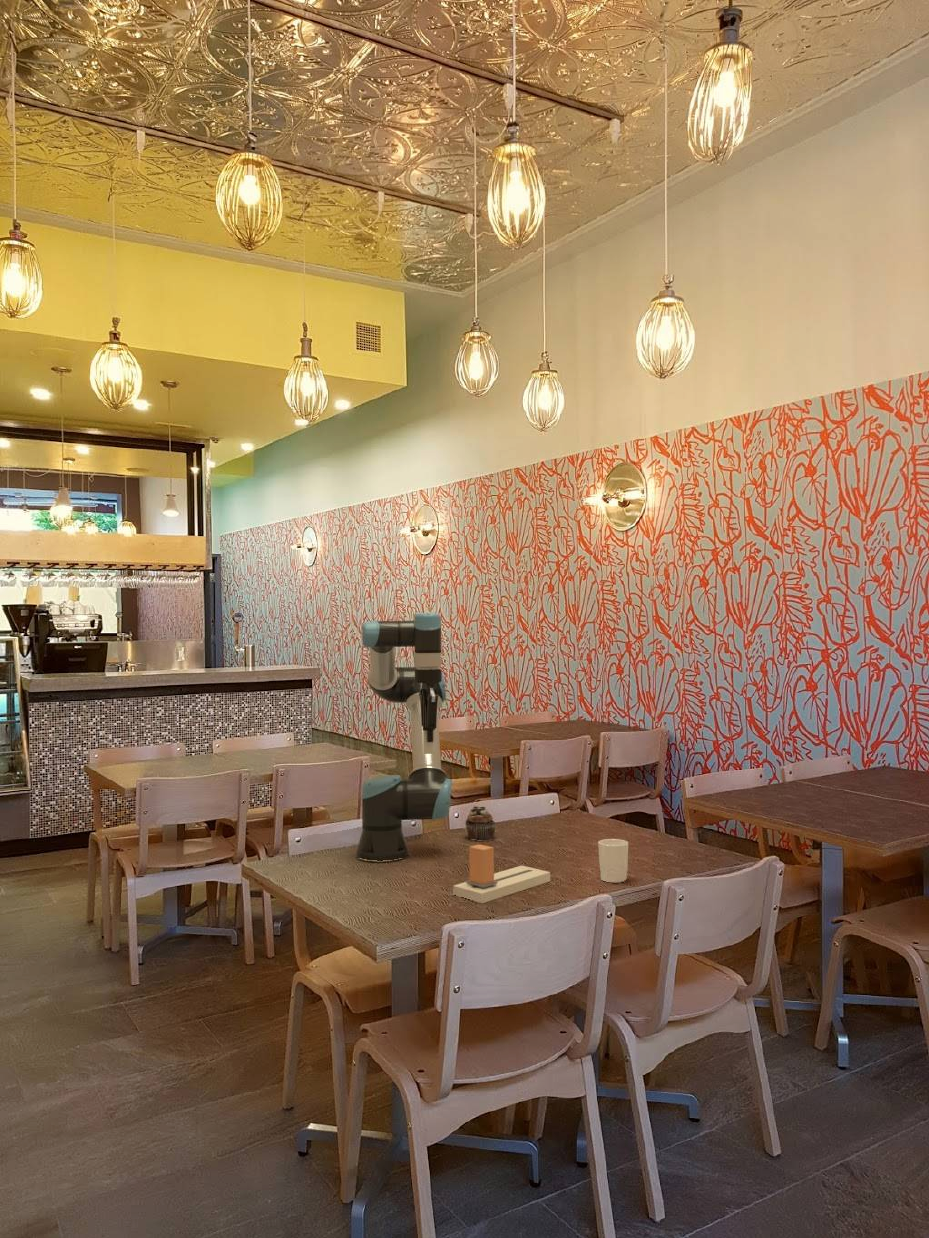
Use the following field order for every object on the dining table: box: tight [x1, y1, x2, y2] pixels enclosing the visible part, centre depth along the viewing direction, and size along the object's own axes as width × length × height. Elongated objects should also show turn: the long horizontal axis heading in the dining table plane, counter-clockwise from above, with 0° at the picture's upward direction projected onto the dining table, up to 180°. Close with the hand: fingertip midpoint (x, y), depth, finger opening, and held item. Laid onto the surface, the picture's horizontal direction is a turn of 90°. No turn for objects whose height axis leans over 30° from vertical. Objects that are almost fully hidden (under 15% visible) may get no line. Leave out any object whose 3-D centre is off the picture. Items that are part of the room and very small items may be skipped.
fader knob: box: [465, 843, 497, 888], centre depth 226 cm, size 5×6×9 cm
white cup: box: [597, 838, 629, 883], centre depth 237 cm, size 8×8×10 cm
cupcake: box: [465, 805, 497, 841], centre depth 287 cm, size 10×10×10 cm
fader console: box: [452, 865, 551, 904], centre depth 231 cm, size 26×10×2 cm, turn 135°
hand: (429, 753), depth 249 cm, fingers closed
